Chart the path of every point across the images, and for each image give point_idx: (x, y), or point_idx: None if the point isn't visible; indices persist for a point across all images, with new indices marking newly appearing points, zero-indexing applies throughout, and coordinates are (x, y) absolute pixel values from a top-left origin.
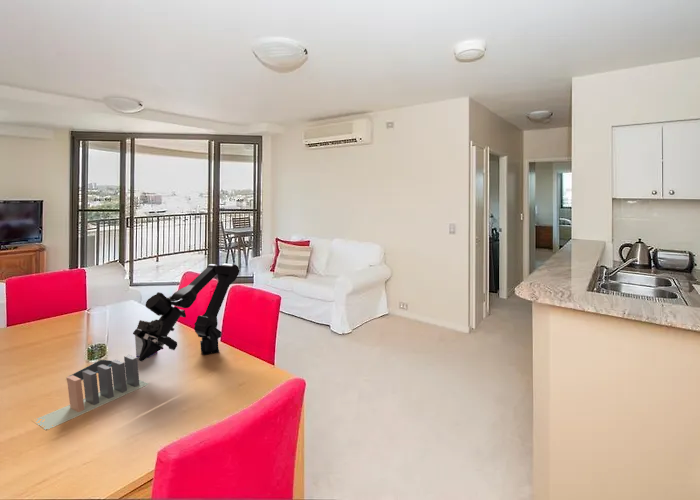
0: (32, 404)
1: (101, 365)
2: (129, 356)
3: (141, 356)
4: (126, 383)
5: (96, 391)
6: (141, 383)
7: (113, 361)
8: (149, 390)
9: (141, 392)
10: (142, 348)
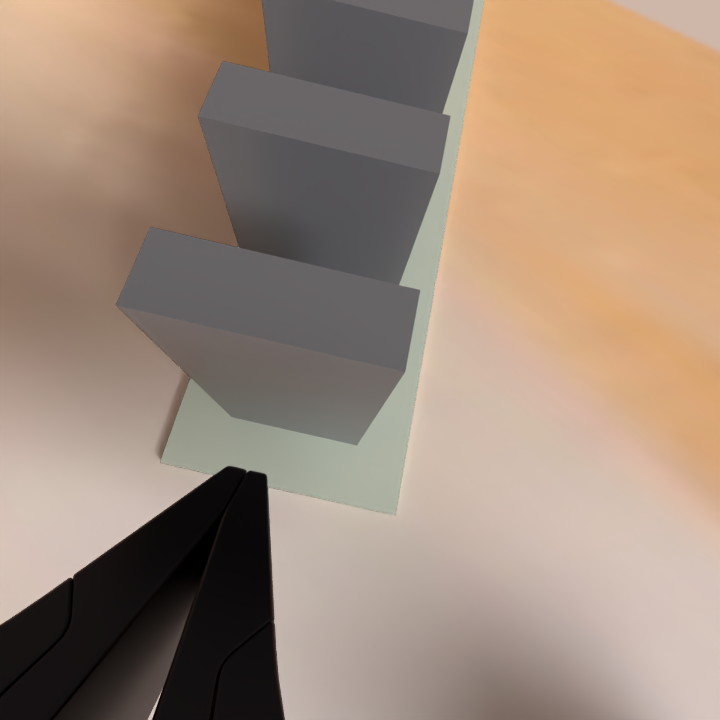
0: (658, 97)
1: (441, 4)
2: (317, 311)
3: (206, 502)
4: None
5: None
6: (235, 444)
7: (404, 113)
8: (89, 383)
9: (136, 340)
10: (248, 661)
